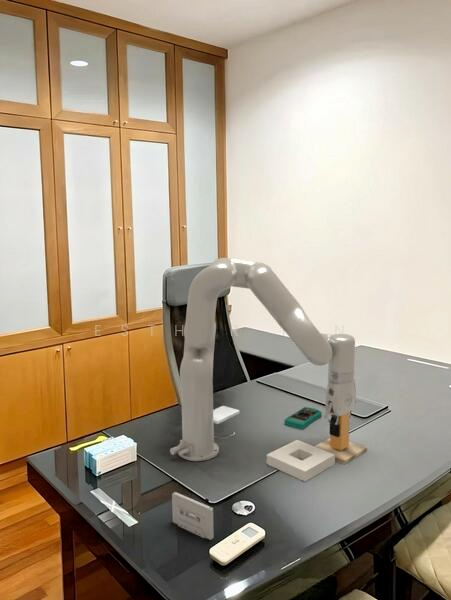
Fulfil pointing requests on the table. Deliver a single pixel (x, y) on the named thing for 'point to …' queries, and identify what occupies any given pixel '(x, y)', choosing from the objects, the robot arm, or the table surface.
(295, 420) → the digital multimeter
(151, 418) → the table surface
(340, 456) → the pad
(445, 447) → the table surface
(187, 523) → the cassette
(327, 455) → the white square holed plate
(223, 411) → the hard drive
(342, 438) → the plug
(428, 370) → the table surface
